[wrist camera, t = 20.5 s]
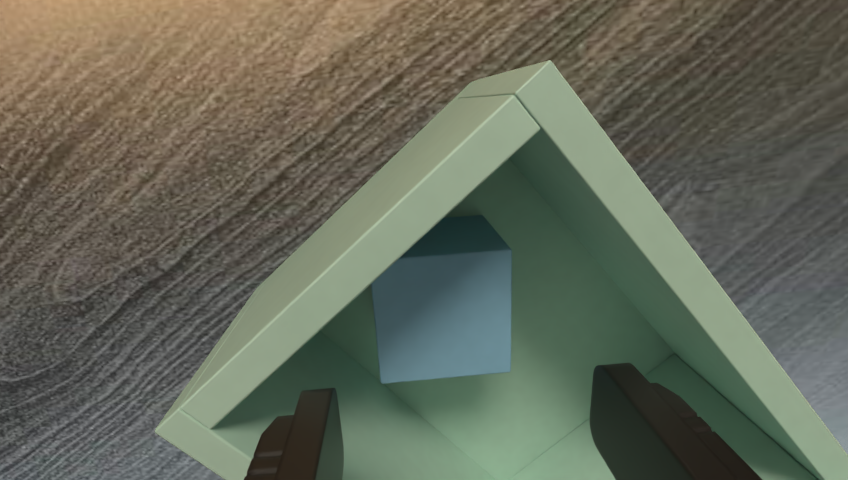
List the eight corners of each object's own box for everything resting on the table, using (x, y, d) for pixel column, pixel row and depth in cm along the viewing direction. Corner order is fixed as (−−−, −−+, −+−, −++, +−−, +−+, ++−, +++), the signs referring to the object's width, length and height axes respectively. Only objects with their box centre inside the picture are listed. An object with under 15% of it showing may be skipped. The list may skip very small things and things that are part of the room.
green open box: (256, 288, 20) (151, 432, 11) (472, 80, 18) (551, 58, 9) (495, 488, 24) (553, 700, 16) (687, 341, 22) (876, 491, 14)
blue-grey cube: (373, 222, 18) (368, 260, 14) (483, 214, 18) (512, 249, 14) (382, 321, 19) (380, 385, 15) (484, 313, 20) (511, 372, 15)
